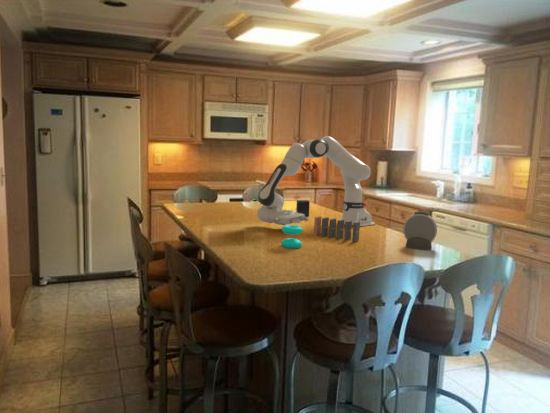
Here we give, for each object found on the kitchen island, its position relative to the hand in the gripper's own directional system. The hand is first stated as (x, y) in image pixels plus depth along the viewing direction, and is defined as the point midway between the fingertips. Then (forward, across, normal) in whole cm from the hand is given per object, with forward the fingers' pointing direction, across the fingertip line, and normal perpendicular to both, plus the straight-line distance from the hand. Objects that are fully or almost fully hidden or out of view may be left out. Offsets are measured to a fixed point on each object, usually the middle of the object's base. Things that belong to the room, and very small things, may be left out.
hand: (304, 220), depth 265 cm
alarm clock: (+62, +8, +7) cm, 63 cm away
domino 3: (+18, 0, +7) cm, 19 cm away
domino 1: (+8, 0, +7) cm, 11 cm away
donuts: (+12, -35, +7) cm, 38 cm away
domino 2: (+13, 0, +7) cm, 15 cm away
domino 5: (+26, 0, +7) cm, 27 cm away
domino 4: (+22, 0, +7) cm, 23 cm away
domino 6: (+31, 0, +7) cm, 32 cm away
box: (-29, +53, +7) cm, 61 cm away
